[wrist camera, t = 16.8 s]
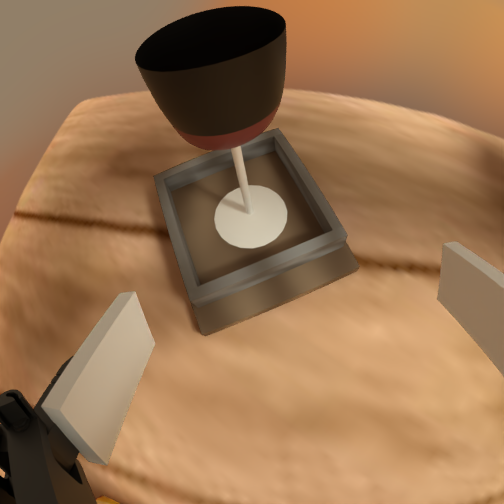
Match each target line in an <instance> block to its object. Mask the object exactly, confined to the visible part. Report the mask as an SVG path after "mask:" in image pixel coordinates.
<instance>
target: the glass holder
mask: <svg viewBox="0 0 504 504" xmlns="http://www.w3.org/2000/svg"><path fill="white" fill-rule="evenodd" d="M241 151H242V156H243V161H244V166H245V171H246V176H247V181H248V185H257V186H263V187H266V188H269V189H271V190H272V191H274V192H276V193H277V194H278V195H279V196H280V197H281V198H282V200H283V201H284V203H285V206H286V209H287V222H286V224H285V227H284V229H283V231H282V232H281V233H280V234H279V236H278V237H277V238H276V239H275V240H273V241H271V242H270V243H268V244H266V245H265V246H261V247H257V248H240V247H237V246H234V245H231V244H229V243H228V242H227V241H225V240H224V239H223V238H221V236H220V234H219V233H218V231H217V230H216V226H215V221H214V217H215V212H216V208H217V206H218V205H219V203H220V201H221V200H222V199H223V198H224V197H225V196H226V195H227V194H228V193H230V192H231V191H233V190H235V189H237V188H240V185H239V181H238V177H237V172H236V168H235V164H234V160H233V156H232V152H231V149H228V150H214V151H212V152H209V153H207V154H204V155H202V156H199V157H197V158H194V159H192V160H189V161H187V162H185V163H182V164H180V165H177V166H175V167H173V168H170V169H168V170H166V171H164V172H161V173H159V174H157V175H155V176H153V177H154V180H155V184H156V188H157V192H158V196H159V200H160V203H161V207H162V211H163V214H164V218H165V221H166V225H167V228H168V232H169V235H170V239H171V242H172V246H173V249H174V252H175V256H176V259H177V262H178V265H179V268H180V272H181V275H182V278H183V281H184V284H185V287H186V290H187V293H188V296H189V299H190V302H191V305H192V308H193V311H194V313H195V316H196V319H197V322H198V325H199V328H200V331H201V333H202V335H204V336H207V335H210V334H212V333H215V332H218V331H220V330H223V329H225V328H228V327H230V326H233V325H235V324H238V323H240V322H243V321H245V320H248V319H250V318H252V317H255V316H257V315H260V314H262V313H264V312H267V311H269V310H271V309H274V308H276V307H278V306H281V305H283V304H285V303H288V302H290V301H292V300H295V299H297V298H299V297H301V296H304V295H306V294H308V293H310V292H313V291H315V290H317V289H319V288H321V287H324V286H326V285H328V284H330V283H332V282H334V281H337V280H339V279H341V278H343V277H345V276H347V275H349V274H351V273H354V272H356V271H357V270H358V269H359V267H360V266H359V264H358V262H357V261H356V259H355V257H354V255H353V253H352V252H351V250H350V248H349V246H348V245H347V243H346V238H347V236H348V235H347V233H346V231H345V230H344V228H343V226H342V225H341V223H340V221H339V220H338V218H337V216H336V215H335V213H334V211H333V210H332V208H331V206H330V205H329V203H328V202H327V200H326V198H325V197H324V195H323V194H322V192H321V191H320V189H319V187H318V186H317V184H316V183H315V181H314V180H313V178H312V177H311V175H310V173H309V172H308V170H307V169H306V167H305V166H304V164H303V163H302V161H301V160H300V158H299V157H298V155H297V154H296V153H295V151H294V150H293V148H292V147H291V145H290V144H289V142H288V141H287V140H286V138H285V137H284V135H283V134H282V132H281V131H280V130H279V128H277V129H273V130H270V131H267V132H264V133H261V134H260V135H258V136H257V137H256V138H254V139H253V140H251V141H249V142H247V143H245V144H243V145H241Z"/></svg>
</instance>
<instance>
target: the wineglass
mask: <svg viewBox="0 0 504 504" xmlns="http://www.w3.org/2000/svg"><path fill="white" fill-rule="evenodd" d="M135 61H136V64H137V66H138V68H139V71H140V73H141V75H142V77H143V79H144V81H145V83H146V85H147V87H148V88H149V90H150V92H151V94H152V96H153V98H154V99H155V101H156V103H157V104H158V106H159V108H160V109H161V110H162V112H163V113H164V115H165V116H166V117H167V119H168V120H169V121H170V123H171V124H172V125H173V127H174V128H175V129H176V130H177V132H178V133H179V134H180V135H181V136H182V137H183V138H184V139H185V140H186V141H187V142H189V143H190V144H192V145H194V146H196V147H198V148H201V149H205V150H228V149H231V152H232V156H233V160H234V164H235V168H236V172H237V177H238V181H239V185H240V188H237V189H235V190H233V191H231V192H230V193H228V194H227V195H226V196H225V197H224V198H223V199H222V200H221V201H220V203H219V205H218V206H217V208H216V212H215V217H214V221H215V226H216V230H217V231H218V233H219V234H220V236H221V238H223V239H224V240H225V241H227V242H228V243H229V244H231V245H234V246H237V247H240V248H257V247H261V246H265V245H266V244H268V243H270V242H271V241H273V240H275V239H276V238H277V237H278V236H279V234H280V233H281V232H282V231H283V229H284V227H285V224H286V222H287V209H286V206H285V203H284V201H283V200H282V198H281V197H280V196H279V195H278V194H277V193H276V192H274V191H272V190H271V189H269V188H266V187H263V186H257V185H248V181H247V176H246V171H245V166H244V161H243V156H242V151H241V145H243V144H245V143H247V142H249V141H251V140H253V139H254V138H256V137H257V136H258V135H260V134H261V133H262V132H263V131H264V130H265V129H266V128H267V127H268V125H269V124H270V123H271V121H272V120H273V118H274V116H275V114H276V112H277V110H278V107H279V105H280V102H281V98H282V93H283V88H284V80H285V69H286V23H285V20H284V18H283V17H282V16H280V15H279V14H278V13H276V12H274V11H271V10H268V9H264V8H259V7H250V6H234V7H223V8H216V9H211V10H206V11H203V12H199V13H195V14H192V15H189V16H186V17H184V18H181V19H179V20H177V21H175V22H173V23H170V24H168V25H167V26H165V27H163V28H161V29H160V30H158V31H157V32H155V33H154V34H152V35H151V36H150V37H149V38H148V39H146V40H145V41H144V42H143V44H142V45H141V46H140V47H139V49H138V50H137V52H136V56H135Z"/></svg>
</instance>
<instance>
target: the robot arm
mask: <svg viewBox="0 0 504 504" xmlns="http://www.w3.org/2000/svg"><path fill="white" fill-rule="evenodd" d="M437 300H438V301H439V302H440V303H441V304H442V305H443V306H444V307H445V308H446V309H447V310H448V311H449V312H450V314H451V315H452V316H453V317H454V318H455V319H456V320H457V321H458V322H459V323H460V325H461V326H462V327H463V328H464V329H465V330H466V331H467V333H468V334H469V335H470V336H471V337H472V338H473V339H474V341H475V342H476V343H477V344H478V345H479V347H480V348H481V349H482V350H483V351H484V353H485V354H486V355H487V356H488V357H489V359H490V360H491V361H492V362H493V364H494V365H495V366H496V367H497V369H498V370H499V371H500V372H501V374H502V375H503V376H504V274H503V273H502V272H501V271H499V270H498V269H496V268H495V267H494V266H492V265H491V264H489V263H488V262H487V261H485V260H484V259H482V258H481V257H479V256H478V255H476V254H475V253H473V252H472V251H470V250H469V249H467V248H466V247H464V246H463V245H461V244H460V243H458V242H457V241H454V242H449V243H444V244H443V250H442V262H441V272H440V281H439V289H438V297H437ZM154 346H155V342H154V339H153V337H152V334H151V332H150V329H149V327H148V324H147V322H146V319H145V316H144V314H143V311H142V308H141V306H140V303H139V300H138V298H137V295H136V292H135V291H132V292H124V293H120V294H119V295H118V296H117V297H116V299H115V300H114V301H113V303H112V304H111V305H110V307H109V308H108V309H107V311H106V312H105V313H104V315H103V316H102V317H101V319H100V320H99V321H98V323H97V324H96V326H95V327H94V328H93V330H92V331H91V332H90V334H89V335H88V337H87V338H86V339H85V341H84V342H83V344H82V345H81V346H80V348H79V349H78V351H77V352H76V354H75V355H74V356H72V357H71V358H70V359H69V360H67V361H66V362H65V363H64V364H63V365H62V366H61V368H60V369H59V371H58V372H57V374H56V376H55V377H54V378H53V380H52V381H51V384H49V386H48V387H47V389H46V390H45V392H44V393H43V395H42V396H41V398H40V399H39V401H38V403H37V404H36V406H35V407H34V409H33V408H32V407H31V406H30V404H29V403H28V402H27V400H26V399H25V398H24V396H23V395H22V393H21V392H19V391H18V390H9V391H6V392H4V393H2V394H1V395H0V423H1V424H0V468H1V469H2V470H3V471H4V472H5V477H4V478H3V477H1V476H0V504H97V502H96V500H95V497H94V495H93V493H92V490H91V488H90V486H89V483H88V481H87V479H86V476H85V474H84V471H83V468H82V466H81V464H80V463H79V461H78V460H77V459H76V458H77V456H78V453H79V452H80V453H81V454H82V455H83V456H84V457H85V458H86V459H87V460H88V461H89V462H93V463H98V464H102V465H108V462H109V459H110V457H111V454H112V451H113V448H114V446H115V443H116V440H117V438H118V435H119V432H120V430H121V427H122V424H123V422H124V419H125V417H126V414H127V411H128V409H129V406H130V404H131V401H132V399H133V396H134V394H135V391H136V389H137V386H138V384H139V381H140V379H141V377H142V374H143V372H144V369H145V367H146V365H147V362H148V360H149V357H150V355H151V353H152V350H153V348H154Z"/></svg>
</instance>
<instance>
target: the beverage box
mask: <svg viewBox="0 0 504 504" xmlns="http://www.w3.org/2000/svg"><path fill="white" fill-rule="evenodd" d="M95 500H96V502H97V504H120V503H118V502H116V501H114V500H112V499H110V498H108V497H106V496H104V495H103V496H101V497H99V498H96V499H95Z"/></svg>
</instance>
